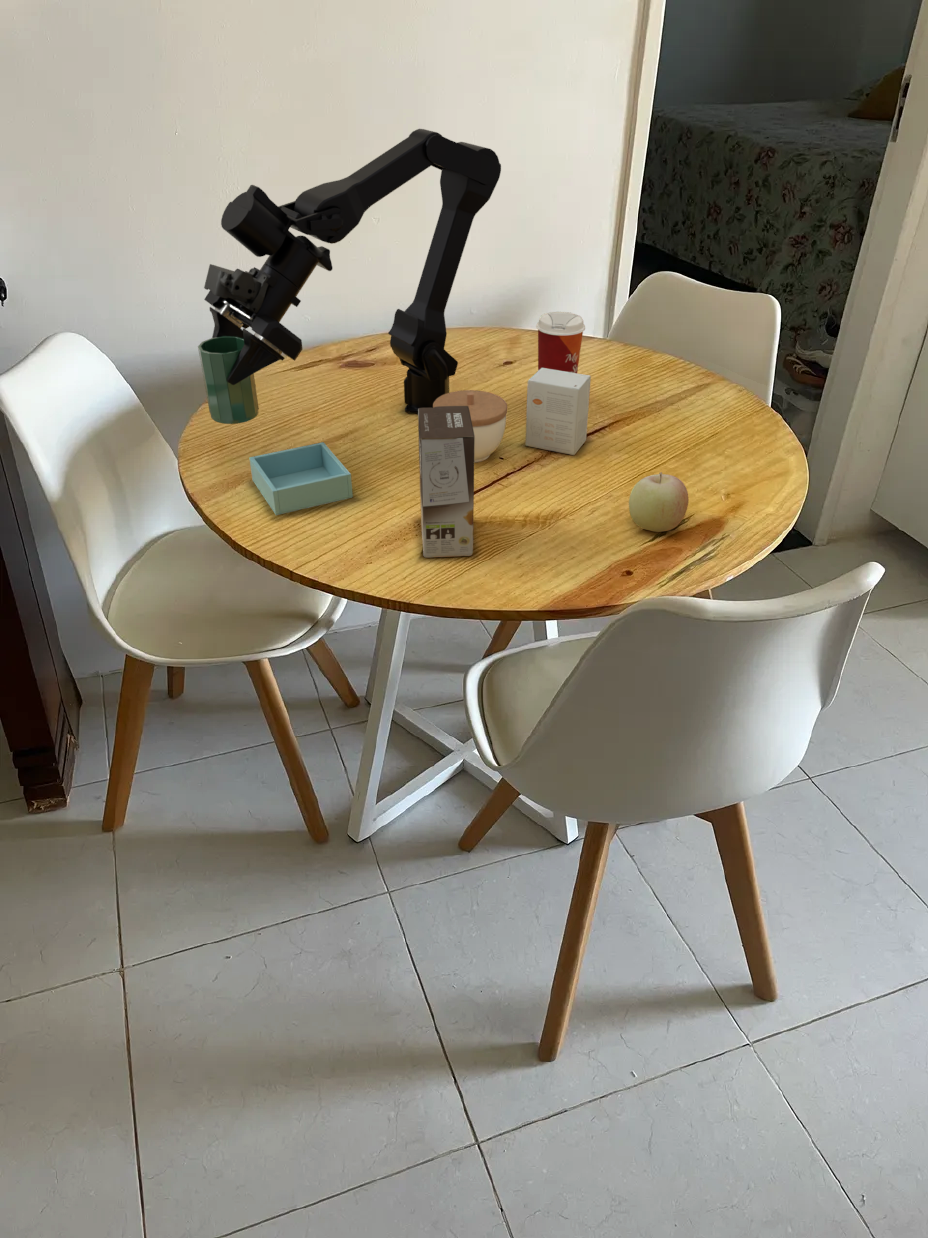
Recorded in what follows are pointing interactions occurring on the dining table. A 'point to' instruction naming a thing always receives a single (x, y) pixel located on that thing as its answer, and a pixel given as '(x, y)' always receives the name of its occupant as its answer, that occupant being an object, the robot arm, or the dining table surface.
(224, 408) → the cup
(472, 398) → the trinket box
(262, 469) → the bin
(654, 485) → the fruit
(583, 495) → the dining table surface
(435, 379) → the robot arm
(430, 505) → the coffee box
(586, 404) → the small box
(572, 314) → the paper cup
